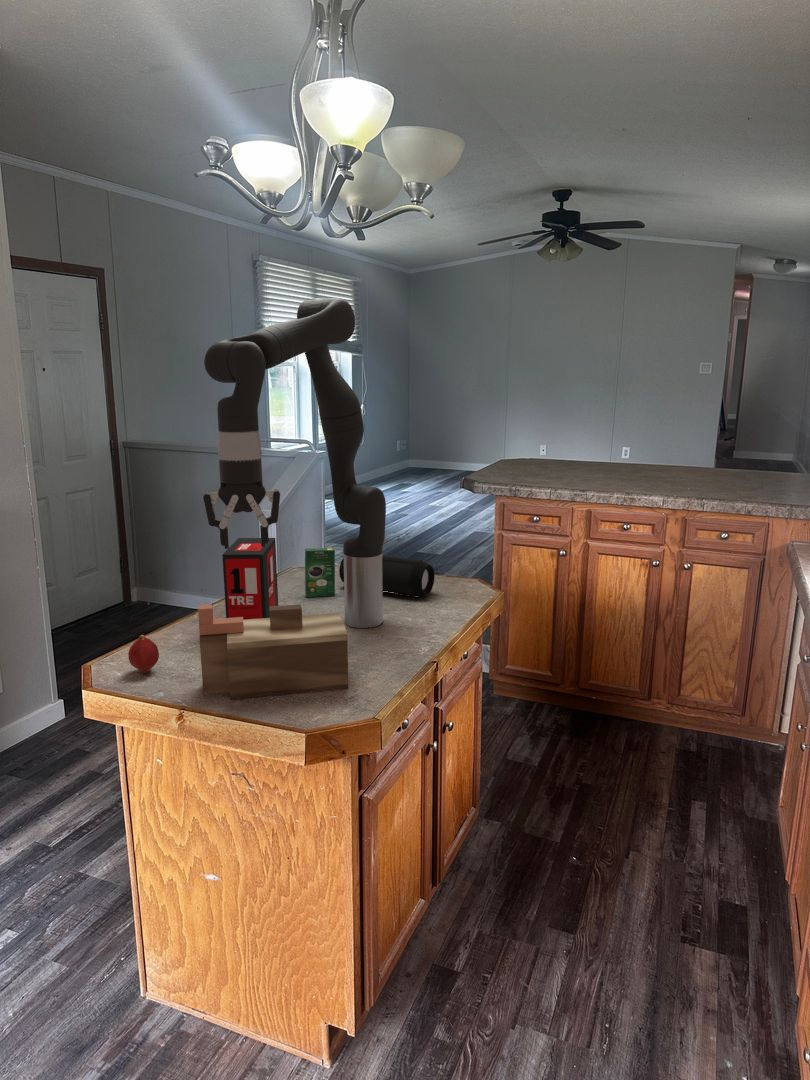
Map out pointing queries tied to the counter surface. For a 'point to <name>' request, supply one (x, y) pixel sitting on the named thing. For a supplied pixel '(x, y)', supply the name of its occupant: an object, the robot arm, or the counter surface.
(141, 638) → the onion
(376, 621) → the robot arm
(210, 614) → the l-shaped block
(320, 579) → the coffee box
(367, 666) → the counter surface
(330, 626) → the lid
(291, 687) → the brown open box piece
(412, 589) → the portable speaker
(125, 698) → the counter surface
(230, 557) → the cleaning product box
